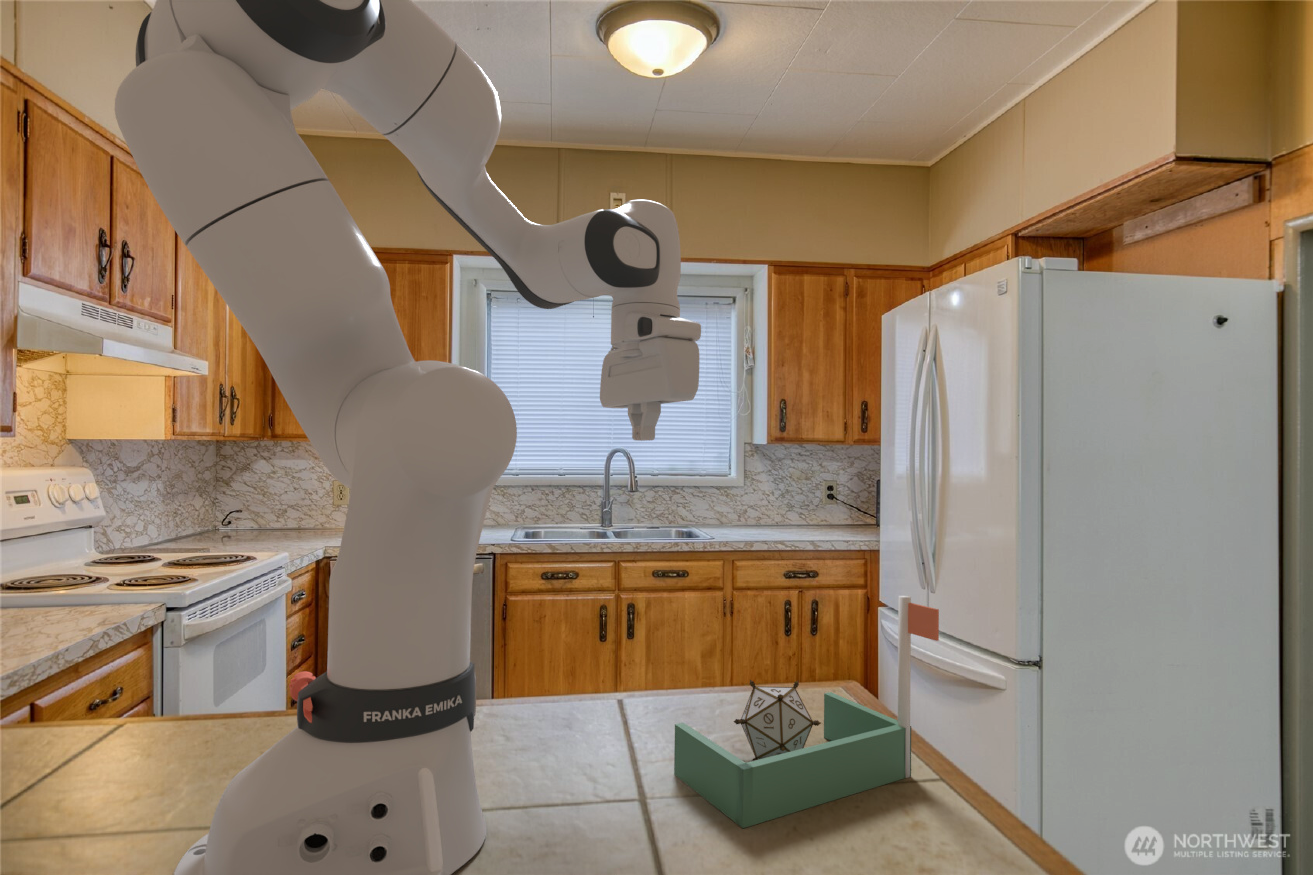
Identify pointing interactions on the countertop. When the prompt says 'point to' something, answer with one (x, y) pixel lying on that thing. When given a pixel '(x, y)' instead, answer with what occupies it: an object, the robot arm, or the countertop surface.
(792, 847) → the countertop surface
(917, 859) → the countertop surface
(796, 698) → the game die
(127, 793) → the countertop surface
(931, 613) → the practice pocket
